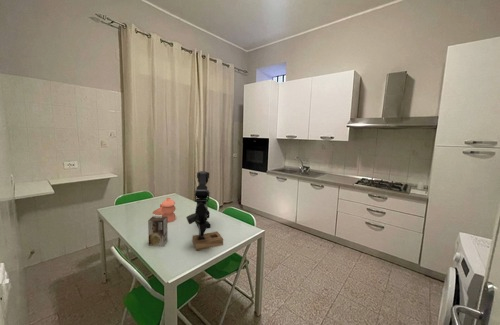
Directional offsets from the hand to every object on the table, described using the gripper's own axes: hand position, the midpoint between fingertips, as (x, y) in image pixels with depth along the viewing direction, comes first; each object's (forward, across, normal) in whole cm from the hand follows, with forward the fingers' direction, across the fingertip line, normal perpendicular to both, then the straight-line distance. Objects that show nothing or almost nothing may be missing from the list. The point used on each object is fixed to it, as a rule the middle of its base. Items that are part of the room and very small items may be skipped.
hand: (201, 234), depth 121 cm
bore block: (+6, 0, +4) cm, 8 cm away
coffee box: (+7, -10, -23) cm, 26 cm away
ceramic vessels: (+7, -55, -17) cm, 58 cm away
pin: (+2, 0, 0) cm, 3 cm away
